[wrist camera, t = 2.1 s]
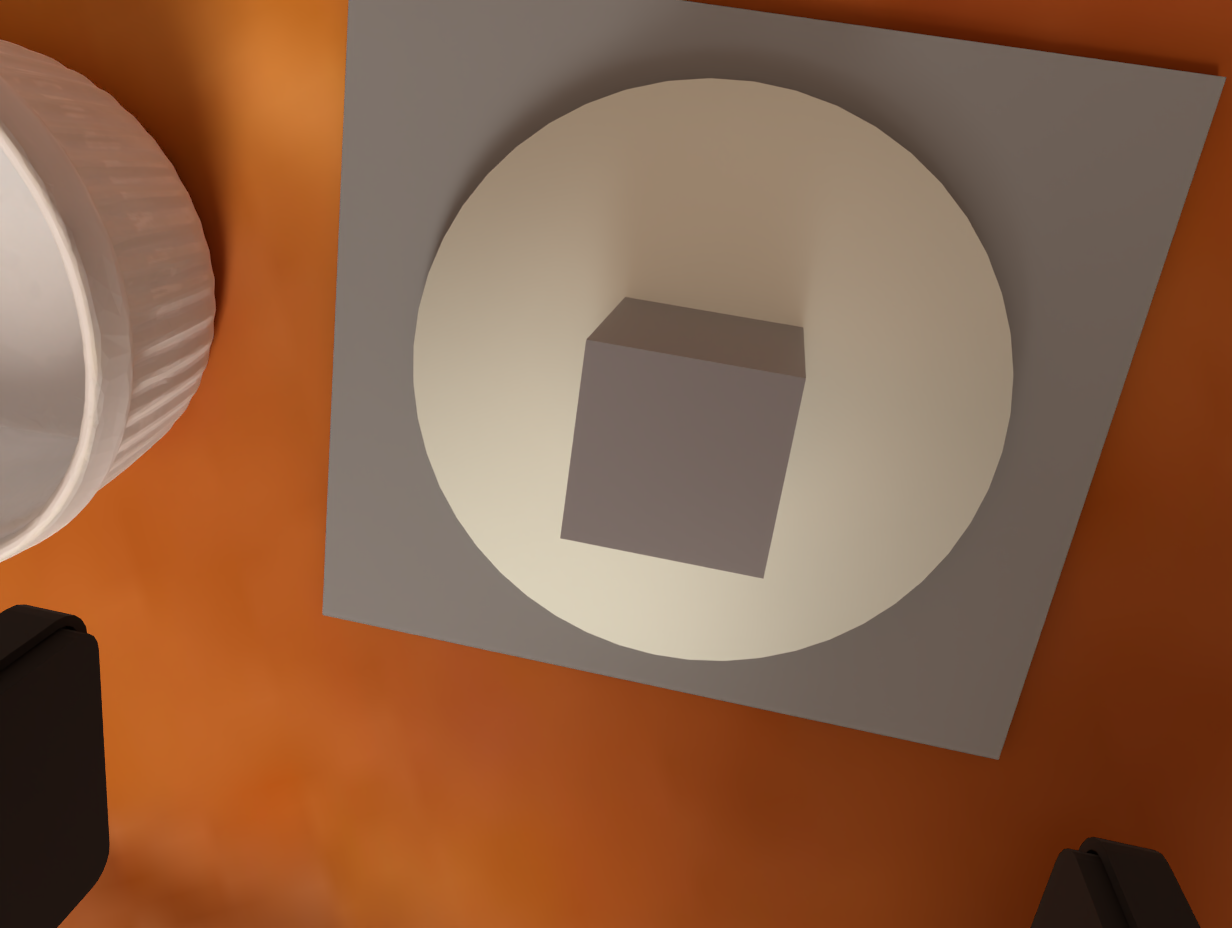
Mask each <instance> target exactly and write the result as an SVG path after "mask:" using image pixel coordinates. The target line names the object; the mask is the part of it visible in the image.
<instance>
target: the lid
mask: <svg viewBox="0 0 1232 928" xmlns="http://www.w3.org/2000/svg"><path fill="white" fill-rule="evenodd" d="M413 384H414V392H415V400H416V408H417V416H418V421H419V425H420V429H421V433H422V437H423V441H424V445H425V449H426V452H427V455H428V458H429V460H430V463H431V466H432V468H433V471H434V473H435V476H436V478H437V481H438V483H439V486H440V488H441V490H442V492H443V493H444V495H445V497H446V499H447V501H448V503H449V505H450V506H451V508H452V510H453V512H454V514H455V516H456V518H457V519H458V520H459V522H460V523H461V525H462V526H463V527H464V529H465V530H466V532H467V533H468V535H469V536H470V537H471V539H472V540H473V542H474V543H475V544H476V546H477V547H478V548H479V549H480V550H481V551H482V553H483V554H484V555H485V556H486V557H487V558H488V559H489V560H490V561H491V563H492V564H493V565H494V566H495V567H496V568H497V569H498V570H499V571H500V573H502V574H503V575H504V576H505V577H506V578H507V579H508V580H510V581H511V582H512V583H513V584H514V585H515V586H516V587H518V588H519V589H520V590H521V591H522V592H523V593H524V594H525V595H527V596H528V597H529V598H531V599H532V600H534V601H535V602H537V603H538V604H540V605H541V606H542V607H544V608H545V609H547V610H548V611H550V612H551V613H553V614H554V615H555V616H557V617H559V618H561V619H563V620H565V621H567V622H568V623H570V624H572V625H574V626H576V627H578V628H580V629H582V630H583V631H585V632H587V633H590V634H592V635H595V636H597V637H600V638H602V639H605V640H608V641H610V642H613V643H615V644H618V645H620V646H624V647H628V648H632V649H635V650H639V651H643V652H646V653H650V654H654V655H661V656H667V657H674V658H681V659H687V660H711V661H730V660H742V659H754V658H763V657H768V656H773V655H778V654H783V653H788V652H793V651H797V650H800V649H803V648H806V647H809V646H812V645H815V644H818V643H821V642H824V641H827V640H830V639H832V638H834V637H837V636H839V635H841V634H843V633H845V632H847V631H849V630H851V629H854V628H856V627H858V626H860V625H862V624H864V623H866V622H867V621H869V620H870V619H872V618H873V617H875V616H877V615H878V614H880V613H881V612H883V611H885V610H886V609H888V608H889V607H891V606H893V605H894V604H895V603H897V602H898V601H899V600H900V599H901V598H903V597H904V596H905V595H906V594H908V593H909V592H910V591H911V590H912V589H914V588H915V587H916V586H917V585H919V584H920V583H921V582H922V581H923V580H924V579H925V578H926V577H927V576H928V575H929V574H930V573H931V572H932V571H933V570H934V569H935V568H936V566H937V565H938V564H939V563H940V562H941V561H942V560H943V559H944V558H945V557H946V556H947V555H948V554H949V552H950V551H951V550H952V548H953V547H954V545H955V544H956V543H957V541H958V540H959V538H960V537H961V536H962V534H963V533H964V531H965V530H966V529H967V527H968V526H969V525H970V523H971V521H972V519H973V518H974V516H975V514H976V512H977V510H978V508H979V506H980V504H981V503H982V501H983V499H984V497H985V495H986V493H987V491H988V489H989V487H990V484H991V482H992V479H993V476H994V473H995V471H996V468H997V465H998V463H999V460H1000V457H1001V454H1002V451H1003V447H1004V442H1005V437H1006V433H1007V428H1008V424H1009V419H1010V414H1011V401H1012V388H1013V360H1012V345H1011V333H1010V328H1009V324H1008V319H1007V314H1006V310H1005V305H1004V300H1003V296H1002V292H1001V290H1000V287H999V284H998V281H997V279H996V276H995V273H994V271H993V268H992V265H991V263H990V260H989V257H988V255H987V253H986V251H985V249H984V247H983V245H982V244H981V242H980V240H979V238H978V236H977V234H976V233H975V231H974V229H973V227H972V225H971V223H970V222H969V220H968V218H967V217H966V215H965V214H964V213H963V211H962V210H961V209H960V207H959V206H958V205H957V203H956V202H955V201H954V199H953V198H952V197H951V195H950V194H949V193H948V191H947V190H946V189H945V187H944V186H943V185H942V183H941V182H940V181H939V180H938V179H937V178H936V177H935V176H934V175H933V174H932V173H931V172H930V171H929V170H928V169H927V168H926V167H925V166H924V165H923V164H922V163H921V162H920V161H919V160H918V159H917V158H916V157H915V156H914V155H913V154H912V153H910V152H909V151H908V150H906V149H905V148H904V147H902V146H901V145H900V144H898V143H897V142H896V141H894V140H893V139H892V138H890V137H889V136H888V135H886V134H885V133H884V132H882V131H881V130H880V129H878V128H877V127H875V126H874V125H872V124H870V123H868V122H866V121H864V120H862V119H861V118H859V117H857V116H855V115H853V114H851V113H850V112H848V111H846V110H844V109H842V108H840V107H839V106H836V105H834V104H831V103H828V102H826V101H823V100H820V99H817V98H815V97H812V96H809V95H807V94H804V93H801V92H799V91H796V90H791V89H786V88H782V87H777V86H773V85H768V84H764V83H759V82H754V81H742V80H729V79H715V78H705V79H690V80H675V81H665V82H660V83H655V84H651V85H646V86H641V87H636V88H631V89H627V90H623V91H621V92H618V93H615V94H612V95H609V96H607V97H604V98H601V99H598V100H596V101H593V102H590V103H587V104H585V105H583V106H581V107H579V108H577V109H575V110H574V111H572V112H570V113H568V114H566V115H564V116H562V117H560V118H558V119H556V120H555V121H553V122H551V123H549V124H548V125H546V126H545V127H543V128H542V129H541V130H539V131H538V132H536V133H535V134H534V135H532V136H531V137H529V138H528V139H527V140H525V141H524V142H523V143H521V144H520V145H518V146H517V147H516V148H515V149H514V150H513V151H512V152H510V153H509V154H508V155H507V156H506V157H505V158H504V159H503V160H502V161H501V162H500V163H499V164H498V165H497V166H496V167H495V168H494V169H493V170H492V171H491V172H490V173H488V174H487V176H486V177H485V178H484V179H483V181H482V182H481V183H480V184H479V186H478V187H477V188H476V189H475V191H474V192H473V193H472V194H471V196H470V197H469V198H468V200H467V201H466V202H465V203H464V205H463V206H462V208H461V209H460V211H459V213H458V214H457V216H456V218H455V219H454V221H453V223H452V224H451V226H450V228H449V230H448V231H447V233H446V235H445V236H444V238H443V240H442V242H441V245H440V247H439V250H438V252H437V254H436V257H435V259H434V261H433V264H432V266H431V268H430V271H429V273H428V277H427V280H426V284H425V288H424V291H423V295H422V299H421V302H420V306H419V310H418V317H417V324H416V332H415V339H414V355H413Z"/></svg>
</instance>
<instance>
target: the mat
mask: <svg viewBox="0 0 1232 928" xmlns="http://www.w3.org/2000/svg"><path fill="white" fill-rule="evenodd" d="M705 78H715V79H729V80H742V81H754V82H759V83H764V84H768V85H773V86H777V87H782V88H786V89H791V90H796V91H799V92H801V93H804V94H807V95H809V96H812V97H815V98H817V99H820V100H823V101H826V102H828V103H831V104H834V105H836V106H839V107H840V108H842V109H844V110H846V111H848V112H850V113H851V114H853V115H855V116H857V117H859V118H861V119H862V120H864V121H866V122H868V123H870V124H872V125H874V126H875V127H877V128H878V129H880V130H881V131H882V132H884V133H885V134H886V135H888V136H889V137H890V138H892V139H893V140H894V141H896V142H897V143H898V144H900V145H901V146H902V147H904V148H905V149H906V150H908V151H909V152H910V153H912V154H913V155H914V156H915V157H916V158H917V159H918V160H919V161H920V162H921V163H922V164H923V165H924V166H925V167H926V168H927V169H928V170H929V171H930V172H931V173H932V174H933V175H934V176H935V177H936V178H937V179H938V180H939V181H940V182H941V183H942V185H943V186H944V187H945V189H946V190H947V191H948V193H949V194H950V195H951V197H952V198H953V199H954V201H955V202H956V203H957V205H958V206H959V207H960V209H961V210H962V211H963V213H964V214H965V215H966V217H967V218H968V220H969V222H970V223H971V225H972V227H973V229H974V231H975V233H976V234H977V236H978V238H979V240H980V242H981V244H982V245H983V247H984V249H985V251H986V253H987V255H988V257H989V260H990V263H991V265H992V268H993V271H994V273H995V276H996V279H997V281H998V284H999V287H1000V290H1001V292H1002V296H1003V300H1004V305H1005V310H1006V314H1007V319H1008V324H1009V328H1010V333H1011V345H1012V360H1013V388H1012V401H1011V414H1010V419H1009V424H1008V428H1007V433H1006V437H1005V442H1004V447H1003V451H1002V454H1001V457H1000V460H999V463H998V465H997V468H996V471H995V473H994V476H993V479H992V482H991V484H990V487H989V489H988V491H987V493H986V495H985V497H984V499H983V501H982V503H981V504H980V506H979V508H978V510H977V512H976V514H975V516H974V518H973V519H972V521H971V523H970V525H969V526H968V527H967V529H966V530H965V531H964V533H963V534H962V536H961V537H960V538H959V540H958V541H957V543H956V544H955V545H954V547H953V548H952V550H951V551H950V552H949V554H948V555H947V556H946V557H945V558H944V559H943V560H942V561H941V562H940V563H939V564H938V565H937V566H936V568H935V569H934V570H933V571H932V572H931V573H930V574H929V575H928V576H927V577H926V578H925V579H924V580H923V581H922V582H921V583H920V584H919V585H917V586H916V587H915V588H914V589H912V590H911V591H910V592H909V593H908V594H906V595H905V596H904V597H903V598H901V599H900V600H899V601H898V602H897V603H895V604H894V605H893V606H891V607H889V608H888V609H886V610H885V611H883V612H881V613H880V614H878V615H877V616H875V617H873V618H872V619H870V620H869V621H867V622H866V623H864V624H862V625H860V626H858V627H856V628H854V629H851V630H849V631H847V632H845V633H843V634H841V635H839V636H837V637H834V638H832V639H830V640H827V641H824V642H821V643H818V644H815V645H812V646H809V647H806V648H803V649H800V650H797V651H793V652H788V653H783V654H778V655H773V656H768V657H763V658H754V659H742V660H730V661H711V660H687V659H681V658H674V657H667V656H661V655H654V654H650V653H646V652H643V651H639V650H635V649H632V648H628V647H624V646H620V645H618V644H615V643H613V642H610V641H608V640H605V639H602V638H600V637H597V636H595V635H592V634H590V633H587V632H585V631H583V630H582V629H580V628H578V627H576V626H574V625H572V624H570V623H568V622H567V621H565V620H563V619H561V618H559V617H557V616H555V615H554V614H553V613H551V612H550V611H548V610H547V609H545V608H544V607H542V606H541V605H540V604H538V603H537V602H535V601H534V600H532V599H531V598H529V597H528V596H527V595H525V594H524V593H523V592H522V591H521V590H520V589H519V588H518V587H516V586H515V585H514V584H513V583H512V582H511V581H510V580H508V579H507V578H506V577H505V576H504V575H503V574H502V573H500V571H499V570H498V569H497V568H496V567H495V566H494V565H493V564H492V563H491V561H490V560H489V559H488V558H487V557H486V556H485V555H484V554H483V553H482V551H481V550H480V549H479V548H478V547H477V546H476V544H475V543H474V542H473V540H472V539H471V537H470V536H469V535H468V533H467V532H466V530H465V529H464V527H463V526H462V525H461V523H460V522H459V520H458V519H457V518H456V516H455V514H454V512H453V510H452V508H451V506H450V505H449V503H448V501H447V499H446V497H445V495H444V493H443V492H442V490H441V488H440V486H439V483H438V481H437V478H436V476H435V473H434V471H433V468H432V466H431V463H430V460H429V458H428V455H427V452H426V449H425V445H424V441H423V437H422V433H421V429H420V425H419V421H418V416H417V408H416V400H415V392H414V384H413V355H414V339H415V332H416V324H417V317H418V310H419V306H420V302H421V299H422V295H423V291H424V288H425V284H426V280H427V277H428V273H429V271H430V268H431V266H432V264H433V261H434V259H435V257H436V254H437V252H438V250H439V247H440V245H441V242H442V240H443V238H444V236H445V235H446V233H447V231H448V230H449V228H450V226H451V224H452V223H453V221H454V219H455V218H456V216H457V214H458V213H459V211H460V209H461V208H462V206H463V205H464V203H465V202H466V201H467V200H468V198H469V197H470V196H471V194H472V193H473V192H474V191H475V189H476V188H477V187H478V186H479V184H480V183H481V182H482V181H483V179H484V178H485V177H486V176H487V174H488V173H490V172H491V171H492V170H493V169H494V168H495V167H496V166H497V165H498V164H499V163H500V162H501V161H502V160H503V159H504V158H505V157H506V156H507V155H508V154H509V153H510V152H512V151H513V150H514V149H515V148H516V147H517V146H518V145H520V144H521V143H523V142H524V141H525V140H527V139H528V138H529V137H531V136H532V135H534V134H535V133H536V132H538V131H539V130H541V129H542V128H543V127H545V126H546V125H548V124H549V123H551V122H553V121H555V120H556V119H558V118H560V117H562V116H564V115H566V114H568V113H570V112H572V111H574V110H575V109H577V108H579V107H581V106H583V105H585V104H587V103H590V102H593V101H596V100H598V99H601V98H604V97H607V96H609V95H612V94H615V93H618V92H621V91H623V90H627V89H631V88H636V87H641V86H646V85H651V84H655V83H660V82H665V81H675V80H690V79H705ZM1225 80H1226V77H1221V76H1214V75H1206V74H1199V73H1192V72H1185V71H1178V70H1171V69H1164V68H1157V67H1150V66H1143V65H1136V64H1129V63H1122V62H1115V61H1107V60H1100V59H1093V58H1086V57H1079V56H1072V55H1065V54H1058V53H1051V52H1044V51H1037V50H1030V49H1023V48H1016V47H1008V46H1001V45H994V44H987V43H980V42H973V41H966V40H959V39H952V38H945V37H938V36H931V35H924V34H917V33H909V32H902V31H895V30H888V29H881V28H874V27H867V26H860V25H853V24H846V23H839V22H832V21H825V20H817V19H810V18H803V17H796V16H789V15H782V14H775V13H768V12H761V11H754V10H747V9H740V8H733V7H726V6H718V5H711V4H704V3H697V2H690V1H683V0H349V6H348V29H347V53H346V76H345V99H344V123H343V146H342V170H341V193H340V217H339V240H338V264H337V287H336V310H335V334H334V357H333V381H332V404H331V428H330V451H329V475H328V498H327V521H326V545H325V568H324V592H323V615H326V616H330V617H335V618H340V619H344V620H349V621H354V622H358V623H363V624H368V625H372V626H377V627H382V628H386V629H391V630H396V631H400V632H405V633H410V634H414V635H419V636H424V637H428V638H433V639H438V640H442V641H447V642H452V643H456V644H461V645H466V646H470V647H475V648H480V649H484V650H489V651H494V652H498V653H503V654H507V655H512V656H517V657H521V658H526V659H531V660H535V661H540V662H545V663H549V664H554V665H559V666H563V667H568V668H573V669H577V670H582V671H587V672H591V673H596V674H601V675H605V676H610V677H615V678H619V679H624V680H629V681H633V682H638V683H643V684H647V685H652V686H657V687H661V688H666V689H671V690H675V691H680V692H685V693H689V694H694V695H699V696H703V697H708V698H712V699H717V700H722V701H726V702H731V703H736V704H740V705H745V706H750V707H754V708H759V709H764V710H768V711H773V712H778V713H782V714H787V715H792V716H796V717H801V718H806V719H810V720H815V721H820V722H824V723H829V724H834V725H838V726H843V727H848V728H852V729H857V730H862V731H866V732H871V733H876V734H880V735H885V736H890V737H894V738H899V739H903V740H908V741H913V742H917V743H922V744H927V745H931V746H936V747H941V748H945V749H950V750H955V751H959V752H964V753H969V754H973V755H978V756H983V757H987V758H992V759H997V760H999V757H1000V754H1001V751H1002V748H1003V745H1004V742H1005V739H1006V736H1007V733H1008V730H1009V727H1010V724H1011V721H1012V718H1013V715H1014V712H1015V709H1016V706H1017V703H1018V700H1019V697H1020V694H1021V691H1022V688H1023V685H1024V682H1025V679H1026V676H1027V673H1028V670H1029V667H1030V664H1031V661H1032V658H1033V655H1034V652H1035V649H1036V646H1037V643H1038V640H1039V637H1040V634H1041V631H1042V628H1043V625H1044V622H1045V619H1046V616H1047V613H1048V610H1049V607H1050V604H1051V601H1052V598H1053V595H1054V592H1055V589H1056V586H1057V583H1058V580H1059V577H1060V574H1061V571H1062V568H1063V565H1064V562H1065V559H1066V556H1067V553H1068V550H1069V547H1070V544H1071V541H1072V538H1073V535H1074V532H1075V529H1076V526H1077V523H1078V520H1079V517H1080V514H1081V511H1082V508H1083V505H1084V502H1085V499H1086V496H1087V493H1088V490H1089V487H1090V484H1091V481H1092V478H1093V475H1094V472H1095V469H1096V466H1097V463H1098V460H1099V457H1100V454H1101V451H1102V448H1103V445H1104V442H1105V439H1106V436H1107V433H1108V430H1109V427H1110V424H1111V421H1112V418H1113V415H1114V412H1115V409H1116V406H1117V403H1118V400H1119V397H1120V394H1121V391H1122V388H1123V385H1124V382H1125V379H1126V376H1127V373H1128V370H1129V367H1130V364H1131V361H1132V358H1133V355H1134V352H1135V349H1136V346H1137V343H1138V340H1139V337H1140V334H1141V331H1142V328H1143V325H1144V322H1145V319H1146V316H1147V313H1148V310H1149V307H1150V304H1151V302H1152V299H1153V296H1154V293H1155V290H1156V287H1157V284H1158V281H1159V278H1160V275H1161V272H1162V269H1163V266H1164V263H1165V260H1166V257H1167V254H1168V251H1169V248H1170V245H1171V242H1172V239H1173V236H1174V233H1175V230H1176V227H1177V224H1178V221H1179V218H1180V215H1181V212H1182V209H1183V206H1184V203H1185V200H1186V197H1187V194H1188V191H1189V188H1190V185H1191V182H1192V179H1193V176H1194V173H1195V170H1196V167H1197V164H1198V161H1199V158H1200V155H1201V152H1202V149H1203V146H1204V143H1205V140H1206V137H1207V134H1208V131H1209V128H1210V125H1211V122H1212V119H1213V116H1214V113H1215V110H1216V107H1217V104H1218V101H1219V98H1220V95H1221V92H1222V89H1223V86H1224V83H1225Z"/></svg>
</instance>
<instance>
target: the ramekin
mask: <svg viewBox="0 0 1232 928" xmlns="http://www.w3.org/2000/svg"><path fill="white" fill-rule="evenodd" d="M214 290H215V278H214V274H213V270H212V266H211V259H210V251H209V248H208V245H207V242H206V239H205V236H204V233H203V228H202V224H201V221H200V219H199V216H198V214H197V212H196V210H195V208H194V205H193V203H192V200H191V198H190V195H189V193H188V192H187V190H186V188H185V187H184V185H183V184H182V182H181V180H180V178H179V176H178V174H177V172H176V170H175V168H174V166H173V164H172V163H171V162H170V161H169V159H168V158H167V157H166V156H165V154H164V153H163V151H162V150H161V148H160V147H159V145H158V144H157V142H156V141H155V140H154V138H153V137H152V136H151V135H150V134H148V133H147V132H146V130H145V129H144V128H143V127H142V125H141V124H140V123H139V122H138V120H137V119H136V118H135V117H134V116H133V115H132V114H130V113H129V112H128V111H126V110H125V109H124V108H123V107H122V106H121V105H120V104H119V103H118V102H117V101H116V100H115V98H114V97H113V96H111V95H110V94H109V93H107V92H106V91H104V90H102V89H100V88H98V87H97V86H95V85H94V84H93V83H92V82H91V81H90V80H89V79H88V78H86V77H85V76H84V75H82V74H80V73H78V72H76V71H74V70H71V69H68V68H66V67H65V66H64V65H62V64H61V63H59V62H58V61H56V60H55V59H53V58H50V57H48V56H46V55H43V54H41V53H38V52H35V51H32V50H29V49H27V48H25V47H22V46H20V45H17V44H14V43H12V42H8V41H4V40H1V39H0V562H2V561H4V560H6V559H8V558H10V557H12V556H14V555H16V554H18V553H20V552H22V551H24V550H26V549H28V548H30V547H32V546H34V545H36V544H38V543H40V542H41V541H43V540H45V539H46V538H48V537H50V536H51V535H53V534H54V533H56V532H57V531H59V530H60V529H62V528H63V527H64V526H66V525H67V524H68V523H69V522H70V521H71V520H72V519H73V518H75V517H76V516H77V515H78V514H79V513H80V511H81V510H82V509H83V508H84V507H85V506H86V505H87V504H88V503H89V501H90V500H91V499H92V498H93V496H94V495H95V494H96V492H97V491H98V490H99V489H101V488H102V487H104V486H105V485H106V484H108V483H109V482H110V481H111V480H113V479H114V478H115V477H117V476H118V475H119V474H120V473H122V472H123V471H124V470H125V469H126V468H128V467H129V466H130V465H131V464H132V463H134V462H135V461H136V460H137V459H138V458H139V457H141V456H142V455H143V454H144V453H145V452H146V451H147V450H149V449H150V448H151V447H152V446H153V445H154V444H155V443H156V442H157V441H158V440H160V439H161V438H162V437H163V436H164V435H165V434H166V433H167V432H168V431H169V430H170V429H171V427H172V426H173V424H174V423H175V421H176V420H177V419H178V418H179V417H180V416H181V415H182V414H183V412H184V411H185V410H186V409H187V407H188V405H189V402H190V400H191V398H192V396H193V395H194V394H195V393H196V391H197V389H198V387H199V385H200V381H201V377H202V374H203V371H204V370H205V368H206V366H207V363H208V359H209V351H210V345H211V343H212V340H213V337H214V317H215V312H216V302H215V295H214Z"/></svg>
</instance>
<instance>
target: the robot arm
mask: <svg viewBox="0 0 1232 928" xmlns="http://www.w3.org/2000/svg"><path fill="white" fill-rule="evenodd" d="M108 854H109V827H108V809H107V791H106V773H105V754H104V736H103V718H102V700H101V682H100V664H99V648H98V643H97V641H96V639H95V637H94V636H92V635H90V634H87V631H86V626H85V624H84V623H83V621H82V620H81V619H80V618H78V617H77V616H75V615H71V614H66V613H61V612H57V611H52V610H48V609H43V608H38V607H34V606H29V605H15V606H13V607H11V608H8V609H6V610H5V611H3V612H2V613H0V928H57V927H58V926H59V925H60V924H61V923H62V921H63V920H64V919H65V918H66V917H67V916H68V915H69V914H70V912H71V911H72V910H73V909H74V908H75V907H76V906H77V904H78V903H79V902H80V901H81V900H82V899H83V898H84V897H85V895H86V894H87V893H88V892H89V891H90V890H91V889H92V887H93V886H94V885H95V883H96V882H97V881H98V879H99V877H100V876H101V874H102V872H103V870H104V867H105V865H106V862H107V858H108ZM1031 928H1200V926H1199V924H1198V922H1197V920H1196V918H1195V916H1194V914H1193V912H1192V910H1191V908H1190V906H1189V904H1188V902H1187V900H1186V898H1185V896H1184V894H1183V892H1182V890H1181V888H1180V886H1179V884H1178V882H1177V880H1176V878H1175V876H1174V874H1173V872H1172V870H1171V868H1170V866H1169V864H1168V862H1167V861H1166V859H1165V858H1164V856H1163V855H1162V854H1161V853H1159V852H1157V851H1155V850H1151V849H1147V848H1142V847H1137V846H1133V845H1128V844H1124V843H1119V842H1114V841H1110V840H1105V839H1101V838H1096V837H1091V838H1087V839H1086V840H1085V841H1084V842H1083V843H1082V845H1081V846H1080V848H1079V850H1078V851H1077V850H1073V849H1064V850H1063V851H1062V852H1061V853H1060V854H1059V856H1058V858H1057V860H1056V862H1055V865H1054V868H1053V870H1052V873H1051V875H1050V878H1049V881H1048V883H1047V886H1046V889H1045V891H1044V894H1043V897H1042V899H1041V902H1040V904H1039V907H1038V910H1037V912H1036V915H1035V918H1034V920H1033V923H1032V926H1031Z"/></svg>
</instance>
